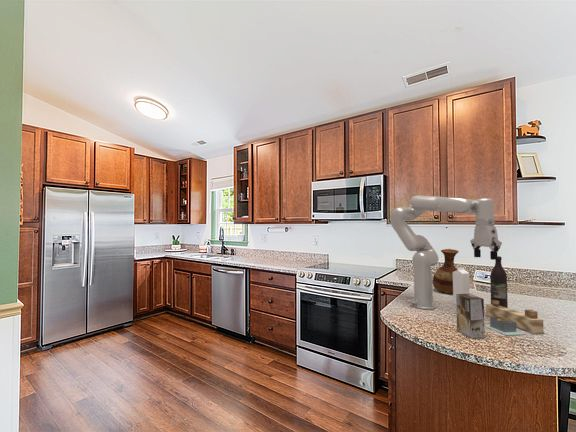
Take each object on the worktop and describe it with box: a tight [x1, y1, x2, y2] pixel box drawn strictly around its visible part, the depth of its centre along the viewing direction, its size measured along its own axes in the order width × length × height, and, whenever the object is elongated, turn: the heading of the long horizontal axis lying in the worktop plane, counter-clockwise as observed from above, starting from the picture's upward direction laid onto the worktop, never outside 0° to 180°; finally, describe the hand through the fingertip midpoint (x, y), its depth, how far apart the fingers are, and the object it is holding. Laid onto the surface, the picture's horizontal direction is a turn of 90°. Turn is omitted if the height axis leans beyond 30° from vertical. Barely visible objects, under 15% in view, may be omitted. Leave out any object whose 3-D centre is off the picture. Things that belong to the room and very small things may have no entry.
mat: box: [484, 324, 526, 337], centre depth 124 cm, size 9×12×1 cm
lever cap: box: [489, 317, 517, 332], centre depth 125 cm, size 6×7×4 cm
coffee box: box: [455, 294, 486, 339], centre depth 120 cm, size 9×6×16 cm
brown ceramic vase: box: [432, 248, 459, 295], centre depth 196 cm, size 20×20×30 cm
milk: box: [452, 266, 470, 306], centre depth 164 cm, size 6×6×22 cm
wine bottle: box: [489, 255, 509, 308], centre depth 148 cm, size 7×7×30 cm
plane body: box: [485, 300, 545, 335], centre depth 132 cm, size 24×5×9 cm, turn 8°
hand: (485, 258), depth 138 cm, fingers open, 9 cm apart
